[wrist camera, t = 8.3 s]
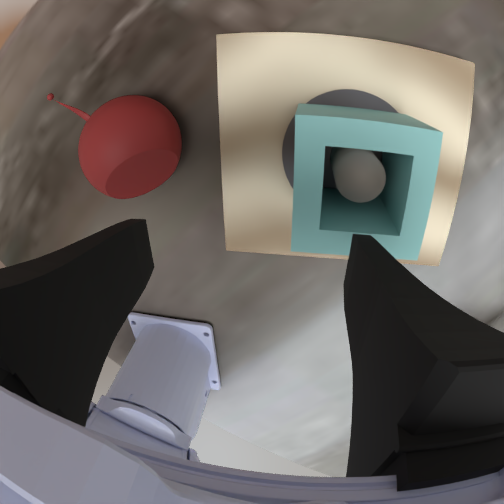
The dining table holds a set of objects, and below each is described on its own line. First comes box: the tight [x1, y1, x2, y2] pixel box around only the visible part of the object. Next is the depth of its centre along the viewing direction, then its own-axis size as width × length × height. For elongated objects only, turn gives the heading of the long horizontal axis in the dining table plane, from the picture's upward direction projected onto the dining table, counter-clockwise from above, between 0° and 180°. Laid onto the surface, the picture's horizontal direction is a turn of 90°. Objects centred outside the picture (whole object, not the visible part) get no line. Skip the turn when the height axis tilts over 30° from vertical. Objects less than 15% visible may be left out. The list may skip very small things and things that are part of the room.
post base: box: [217, 32, 475, 266], centre depth 15 cm, size 13×14×6 cm
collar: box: [291, 103, 443, 260], centre depth 14 cm, size 6×6×5 cm
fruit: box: [47, 93, 182, 199], centre depth 16 cm, size 6×6×8 cm
